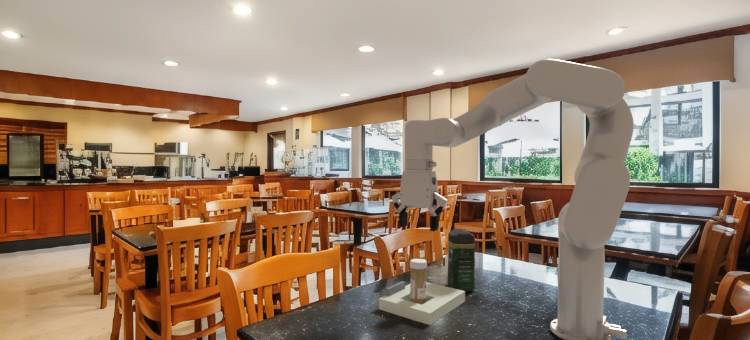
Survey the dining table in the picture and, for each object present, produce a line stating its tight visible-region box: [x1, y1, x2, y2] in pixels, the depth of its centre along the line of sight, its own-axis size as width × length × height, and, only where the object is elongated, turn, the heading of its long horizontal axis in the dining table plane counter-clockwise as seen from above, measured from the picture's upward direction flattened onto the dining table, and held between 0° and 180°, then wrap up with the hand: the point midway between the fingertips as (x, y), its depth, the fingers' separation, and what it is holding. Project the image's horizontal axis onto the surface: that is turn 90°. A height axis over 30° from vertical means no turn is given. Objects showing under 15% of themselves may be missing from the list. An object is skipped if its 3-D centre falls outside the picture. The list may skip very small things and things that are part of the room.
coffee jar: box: [447, 228, 476, 293], centre depth 121 cm, size 10×8×19 cm
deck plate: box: [378, 280, 466, 326], centre depth 107 cm, size 16×20×5 cm
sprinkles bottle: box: [409, 258, 428, 305], centre depth 104 cm, size 5×5×13 cm
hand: (418, 228), depth 104 cm, fingers open, 9 cm apart
